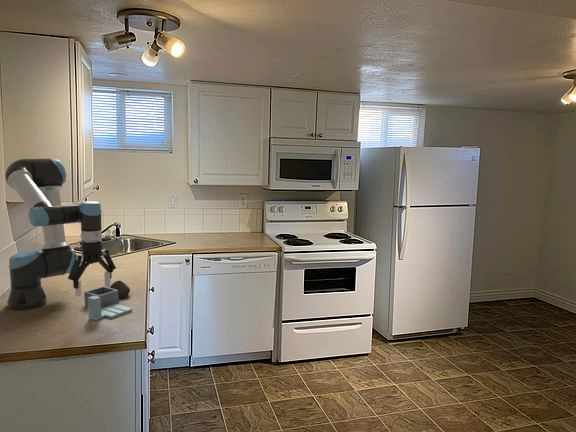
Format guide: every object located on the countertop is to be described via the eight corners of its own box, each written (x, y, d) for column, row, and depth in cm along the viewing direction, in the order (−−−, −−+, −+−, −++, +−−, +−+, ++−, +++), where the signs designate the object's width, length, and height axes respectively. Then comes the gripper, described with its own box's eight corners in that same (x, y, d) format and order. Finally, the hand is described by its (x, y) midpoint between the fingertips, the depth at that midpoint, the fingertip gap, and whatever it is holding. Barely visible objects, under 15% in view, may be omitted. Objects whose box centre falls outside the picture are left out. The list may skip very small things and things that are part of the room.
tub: (84, 304, 199) (84, 292, 198) (104, 298, 207) (103, 286, 206) (99, 309, 194) (98, 296, 193) (118, 302, 202) (118, 290, 202)
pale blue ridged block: (83, 316, 184) (82, 295, 183) (115, 305, 198) (114, 286, 197) (100, 321, 179) (99, 300, 178) (132, 310, 193) (132, 290, 191)
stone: (132, 303, 213) (131, 285, 219) (129, 295, 207) (127, 276, 212) (111, 307, 211) (110, 289, 217) (107, 299, 204) (106, 280, 210)
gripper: (68, 247, 166) (71, 301, 169) (123, 236, 187) (124, 285, 190) (56, 244, 169) (59, 297, 173) (111, 234, 191) (113, 281, 194)
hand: (93, 291), depth 182 cm, fingers open, 13 cm apart
